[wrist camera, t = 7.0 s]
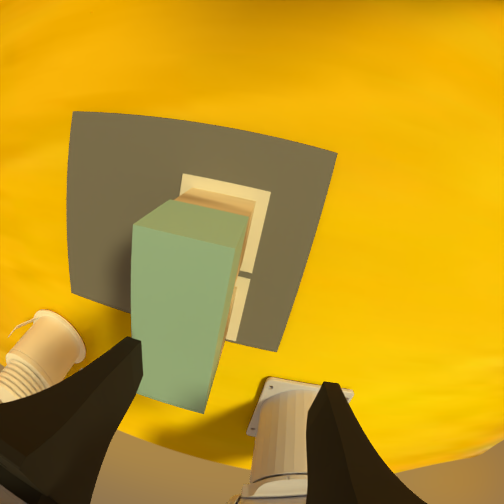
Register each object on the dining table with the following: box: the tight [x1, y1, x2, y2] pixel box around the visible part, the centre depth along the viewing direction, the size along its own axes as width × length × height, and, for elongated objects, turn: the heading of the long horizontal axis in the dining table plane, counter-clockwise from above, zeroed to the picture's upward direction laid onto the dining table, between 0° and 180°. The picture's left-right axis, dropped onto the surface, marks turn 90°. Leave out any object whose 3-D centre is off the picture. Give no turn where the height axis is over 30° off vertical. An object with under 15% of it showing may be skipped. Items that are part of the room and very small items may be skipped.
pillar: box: [175, 188, 256, 286], centre depth 17 cm, size 4×4×4 cm
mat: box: [67, 111, 337, 352], centre depth 20 cm, size 15×18×1 cm
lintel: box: [131, 199, 249, 414], centre depth 15 cm, size 10×4×4 cm, turn 168°
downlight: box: [0, 310, 86, 403], centre depth 22 cm, size 8×7×10 cm
